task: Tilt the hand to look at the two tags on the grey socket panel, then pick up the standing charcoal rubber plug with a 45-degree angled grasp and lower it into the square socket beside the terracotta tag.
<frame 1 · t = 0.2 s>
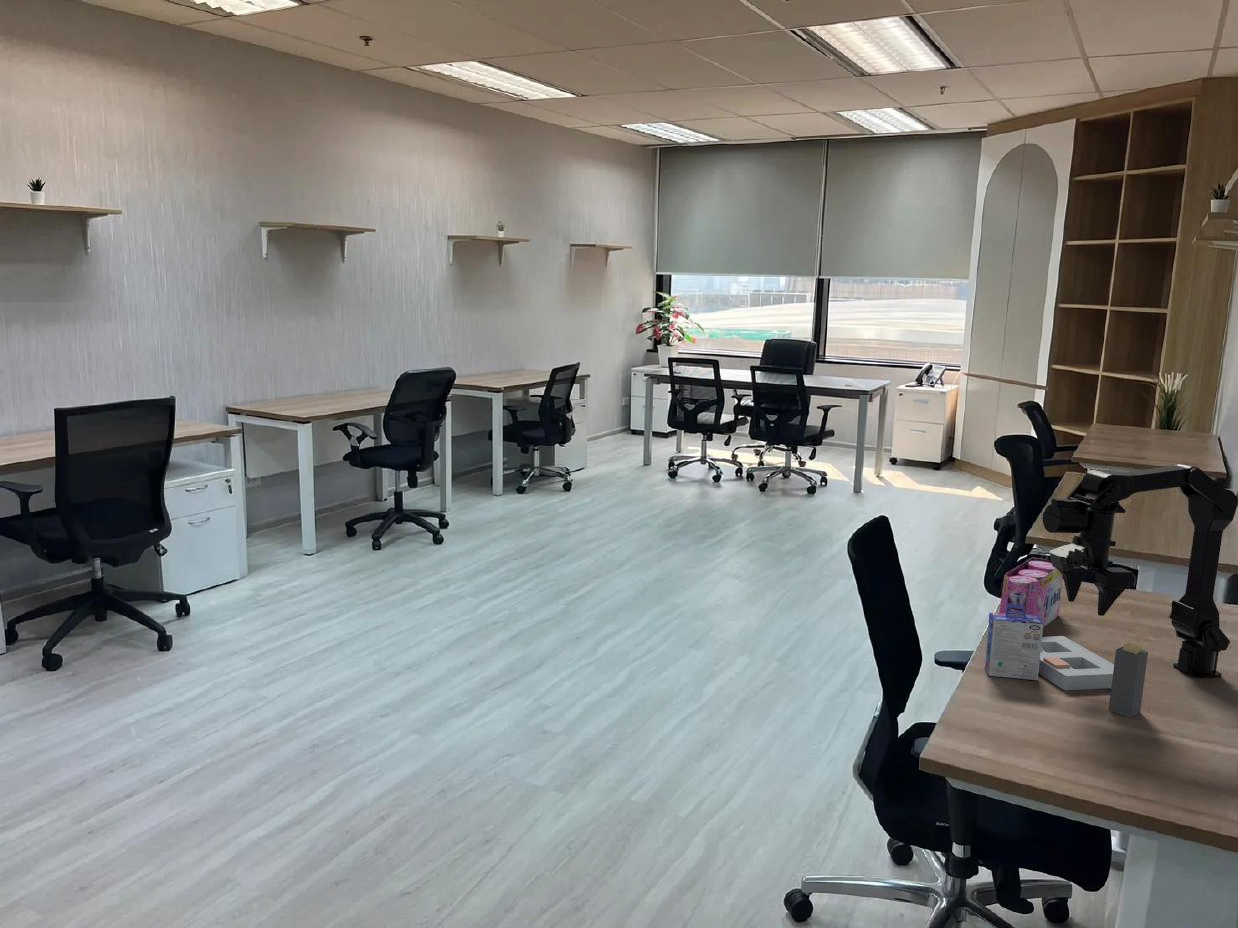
hand: (1085, 608, 188), 15 cm above the table, tool pointing down, fingers open, 9 cm apart
plug: (1124, 710, 174), on the table
ink cartridge box: (1010, 674, 191), on the table
gum box: (1028, 623, 223), on the table
socket panel: (1063, 668, 195), on the table
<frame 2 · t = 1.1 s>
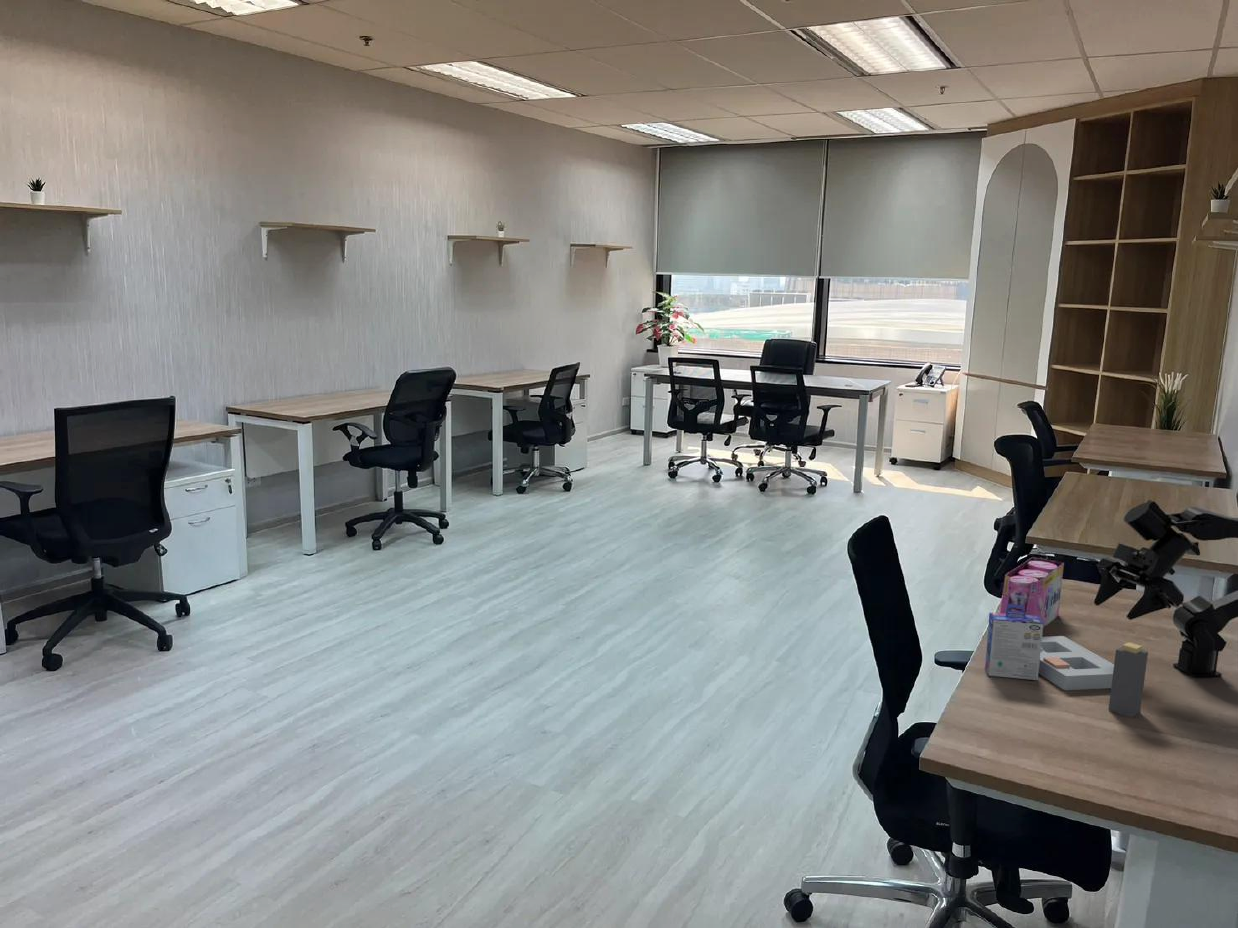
hand: (1111, 611, 191), 13 cm above the table, tool tilted 45°, fingers open, 9 cm apart
nothing on the table moved.
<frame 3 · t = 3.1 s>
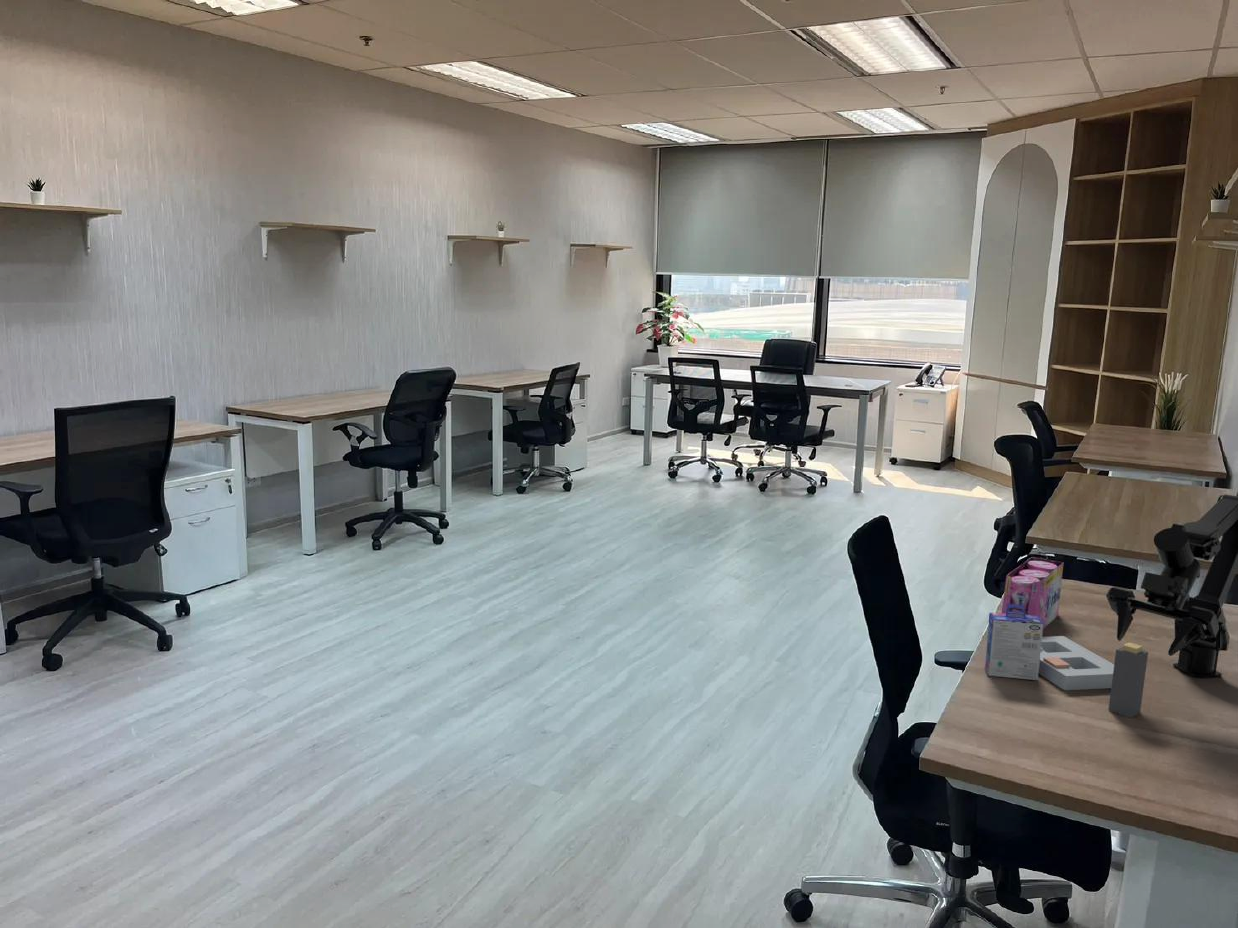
hand: (1143, 646, 175), 12 cm above the table, tool tilted 45°, fingers open, 9 cm apart
nothing on the table moved.
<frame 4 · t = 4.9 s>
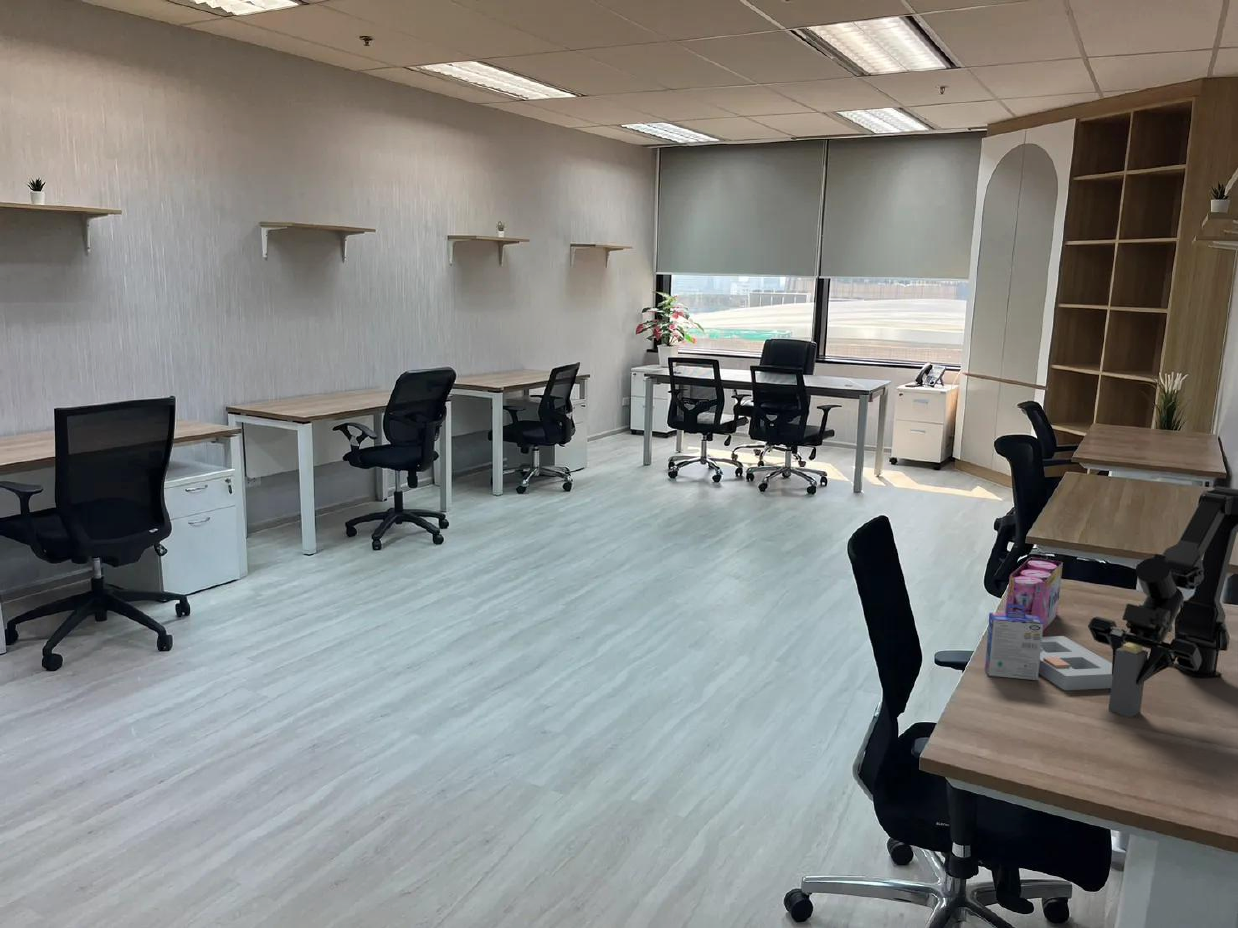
hand: (1125, 679, 172), 7 cm above the table, tool tilted 45°, fingers closed on plug, 4 cm apart
plug: (1124, 710, 174), on the table, touching gripper
everything else where it was.
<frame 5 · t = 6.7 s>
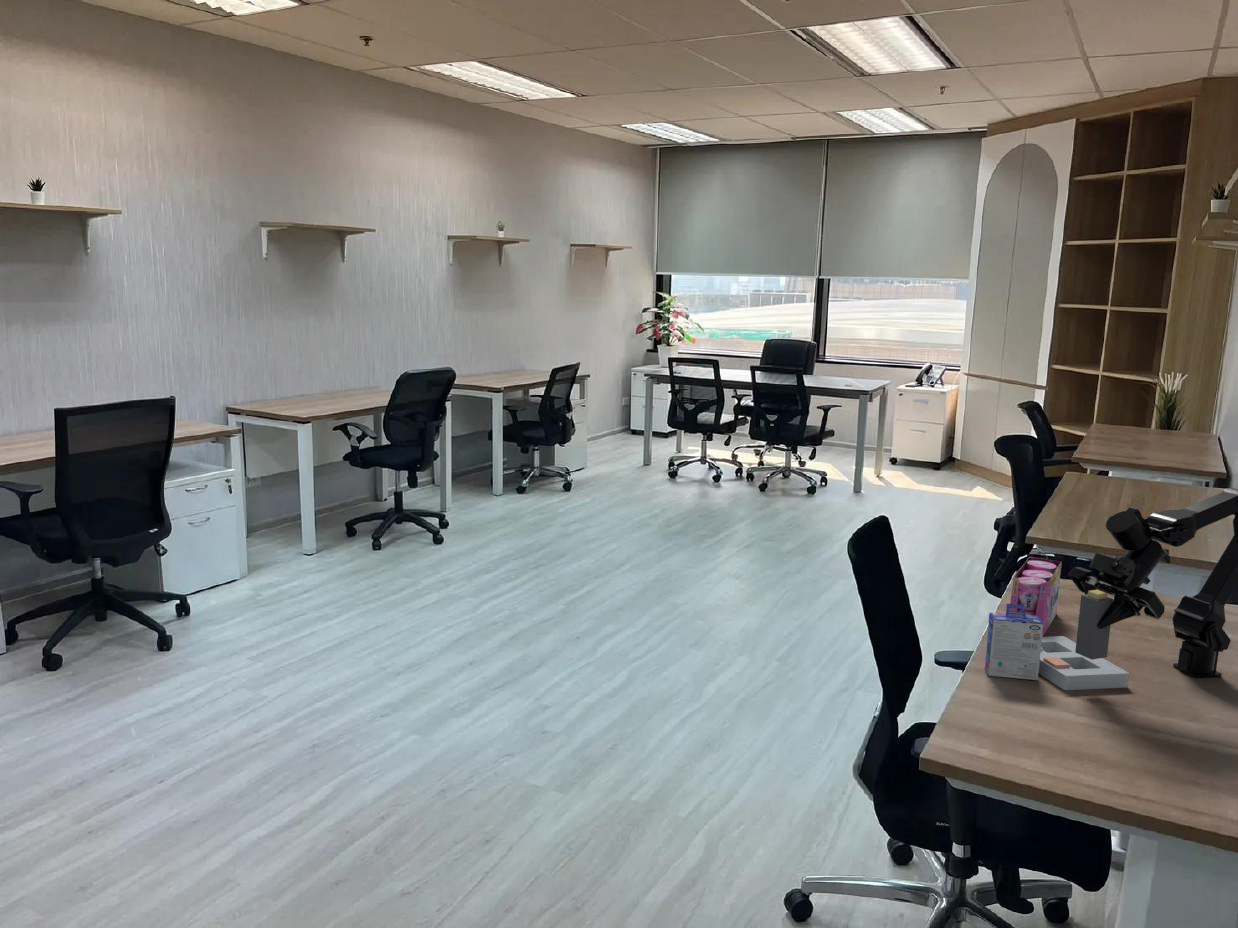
hand: (1089, 623, 183), 13 cm above the table, tool tilted 45°, fingers closed on plug, 4 cm apart
plug: (1090, 654, 184), point 7 cm above the table, touching gripper
when the fingers open (8 cm above the table, at t = 8.4 s): plug drops 1 cm, resting in socket panel.
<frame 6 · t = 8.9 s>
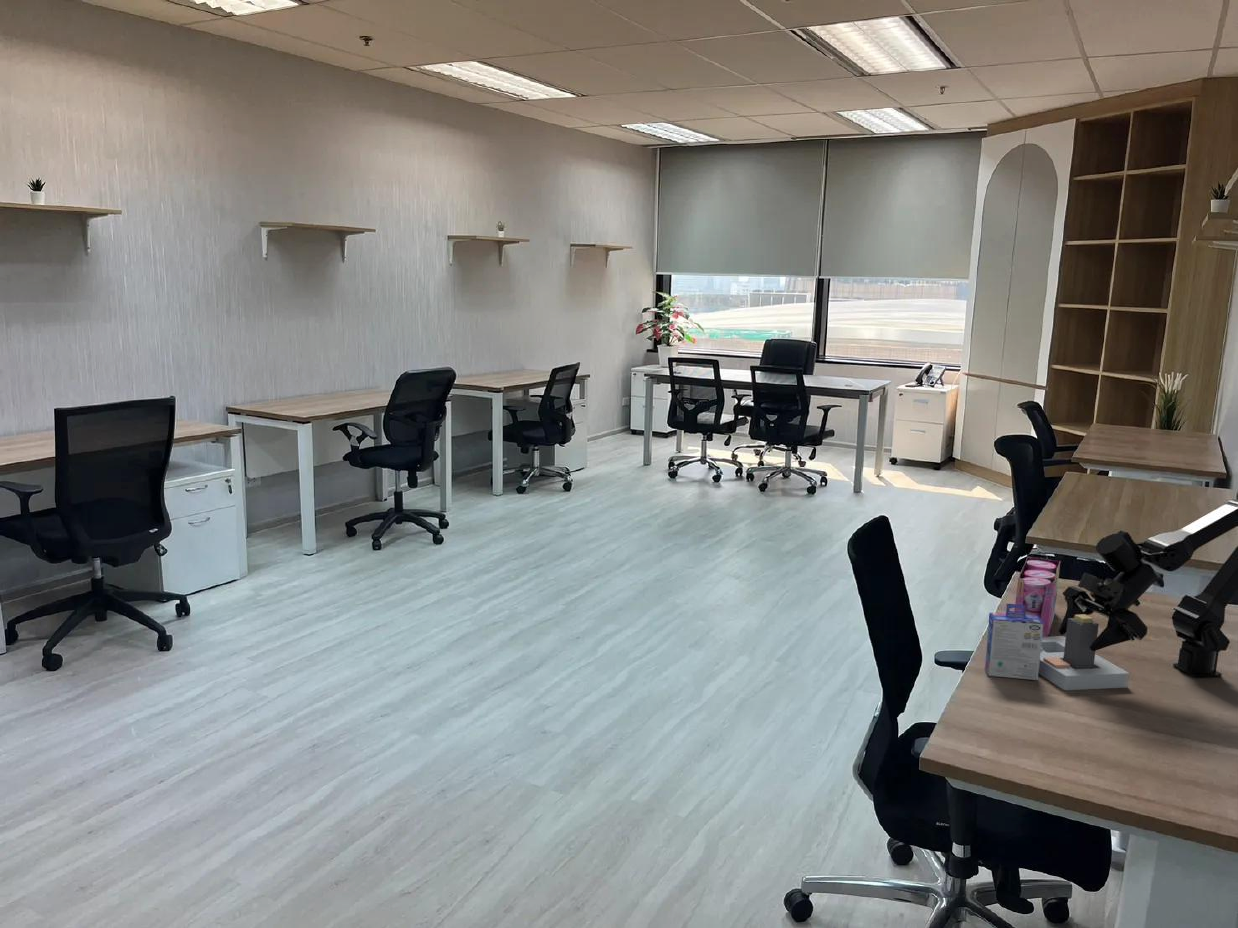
hand: (1075, 641, 189), 8 cm above the table, tool tilted 45°, fingers open, 9 cm apart
plug: (1076, 676, 190), resting in socket panel
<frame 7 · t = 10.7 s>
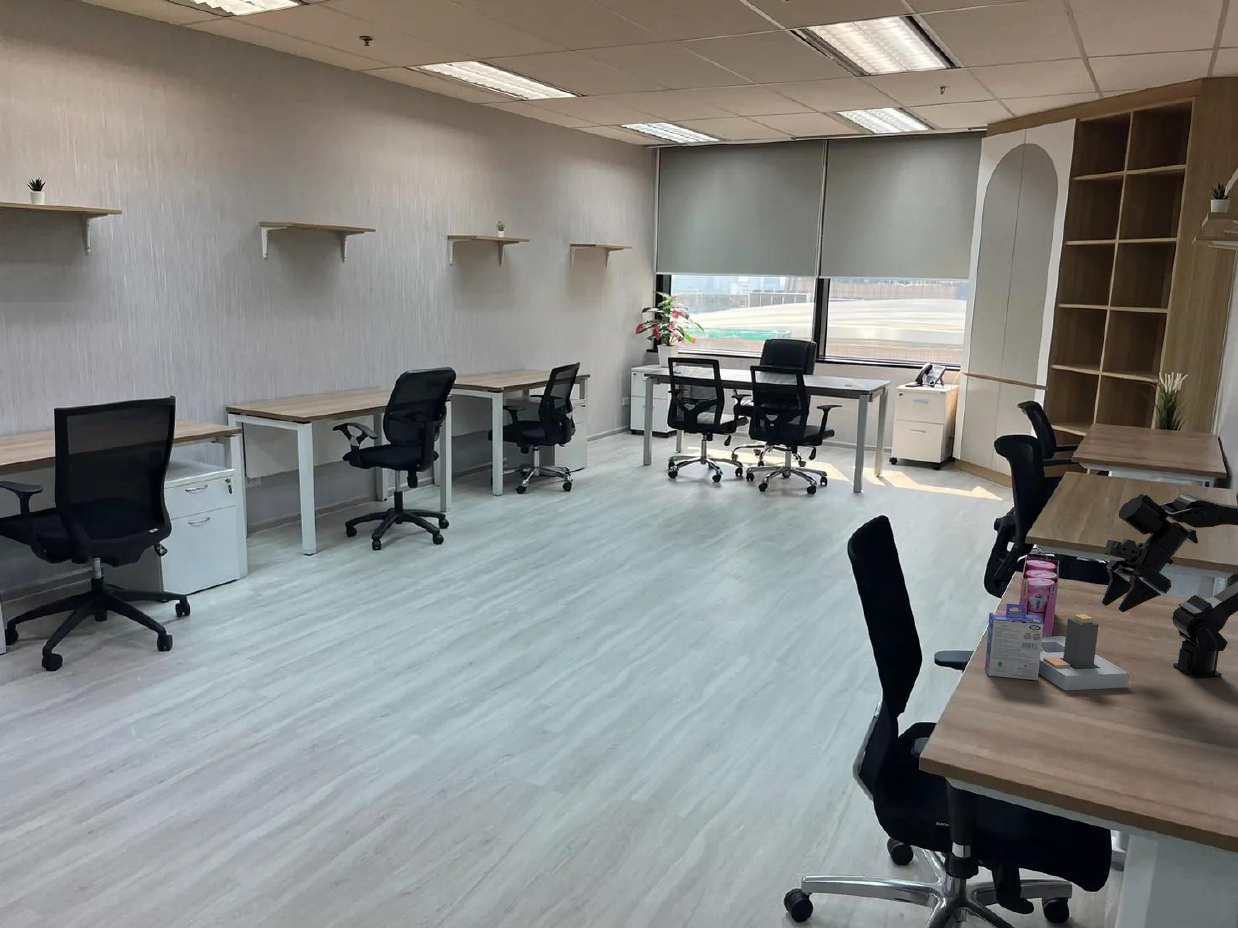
hand: (1111, 607, 192), 14 cm above the table, tool tilted 35°, fingers open, 9 cm apart
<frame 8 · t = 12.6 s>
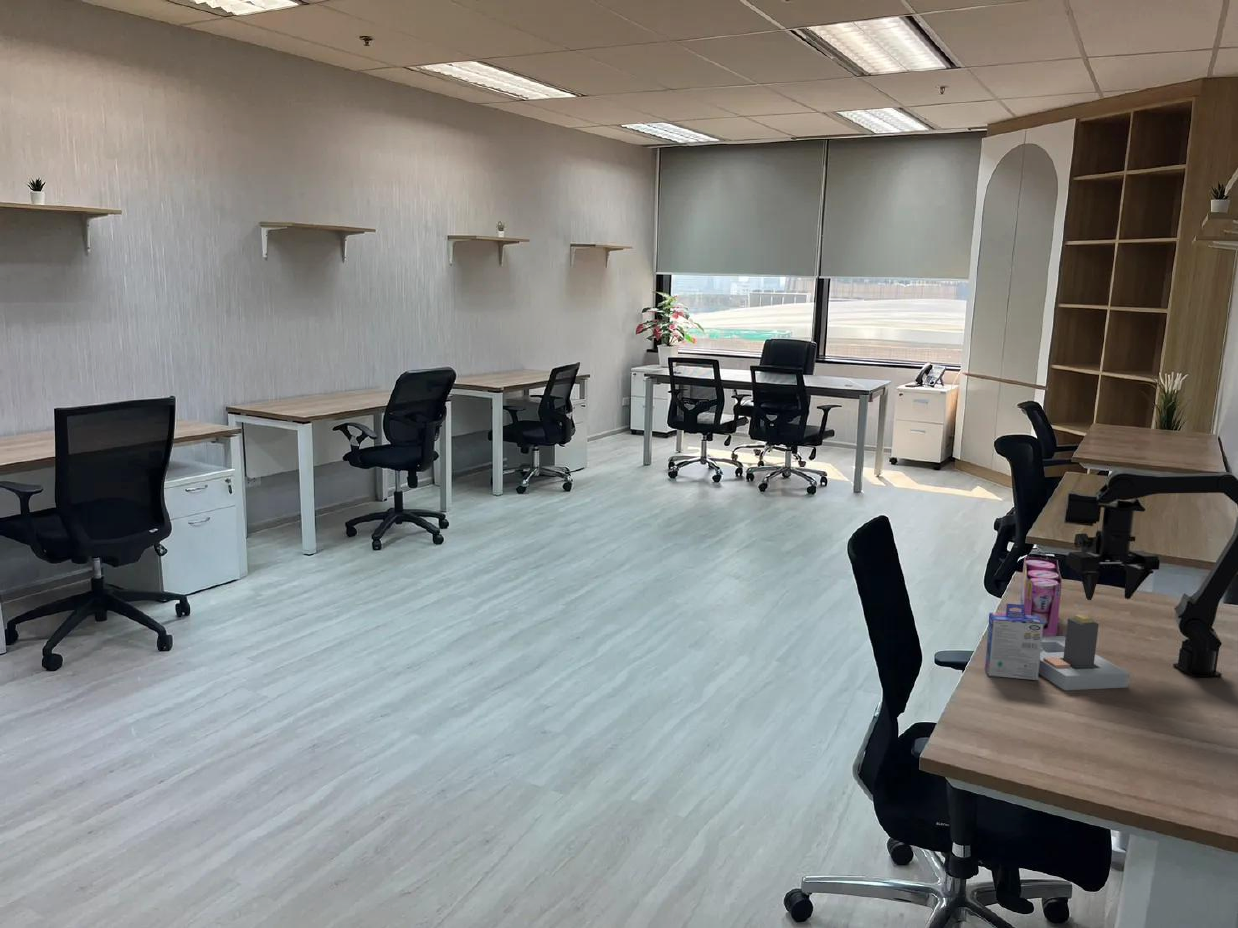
hand: (1107, 599, 200), 13 cm above the table, tool pointing down, fingers open, 9 cm apart
at the end: plug 0.0 cm from the target spot on the socket panel, point 0.0 cm above the socket panel's base; plug tilted 0°; the gripper is holding nothing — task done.
